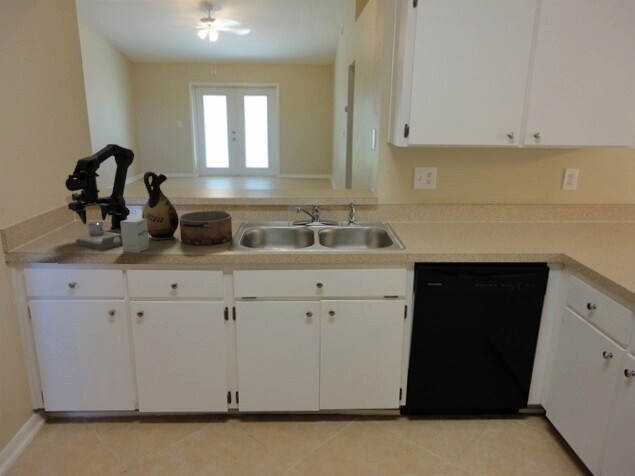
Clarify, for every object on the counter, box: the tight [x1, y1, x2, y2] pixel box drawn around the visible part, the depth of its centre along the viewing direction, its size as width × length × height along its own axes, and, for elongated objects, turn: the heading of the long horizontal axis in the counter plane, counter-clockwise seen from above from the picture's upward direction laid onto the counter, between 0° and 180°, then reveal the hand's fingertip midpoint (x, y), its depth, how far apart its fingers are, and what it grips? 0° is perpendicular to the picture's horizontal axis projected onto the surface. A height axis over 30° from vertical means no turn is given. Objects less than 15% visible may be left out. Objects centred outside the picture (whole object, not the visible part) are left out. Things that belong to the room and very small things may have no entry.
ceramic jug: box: [141, 171, 180, 241], centre depth 185 cm, size 17×15×30 cm
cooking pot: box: [178, 210, 233, 247], centre depth 187 cm, size 30×22×11 cm
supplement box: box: [120, 217, 150, 254], centre depth 169 cm, size 7×7×13 cm
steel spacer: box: [87, 221, 105, 237], centre depth 180 cm, size 6×6×5 cm
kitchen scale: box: [75, 230, 123, 251], centre depth 179 cm, size 14×17×4 cm
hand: (94, 222), depth 190 cm, fingers open, 9 cm apart
